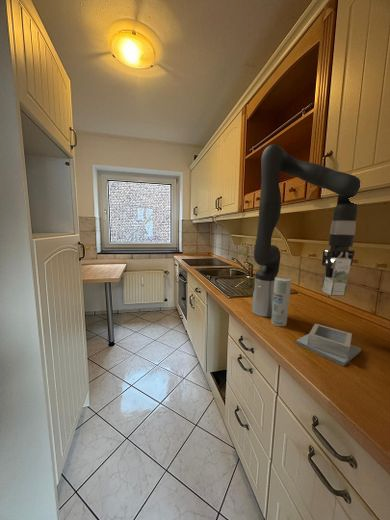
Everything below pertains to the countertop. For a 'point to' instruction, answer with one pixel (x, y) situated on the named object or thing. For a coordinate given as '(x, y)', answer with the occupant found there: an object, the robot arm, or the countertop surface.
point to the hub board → (337, 359)
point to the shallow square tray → (330, 340)
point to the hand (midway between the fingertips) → (335, 276)
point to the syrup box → (337, 278)
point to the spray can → (281, 301)
